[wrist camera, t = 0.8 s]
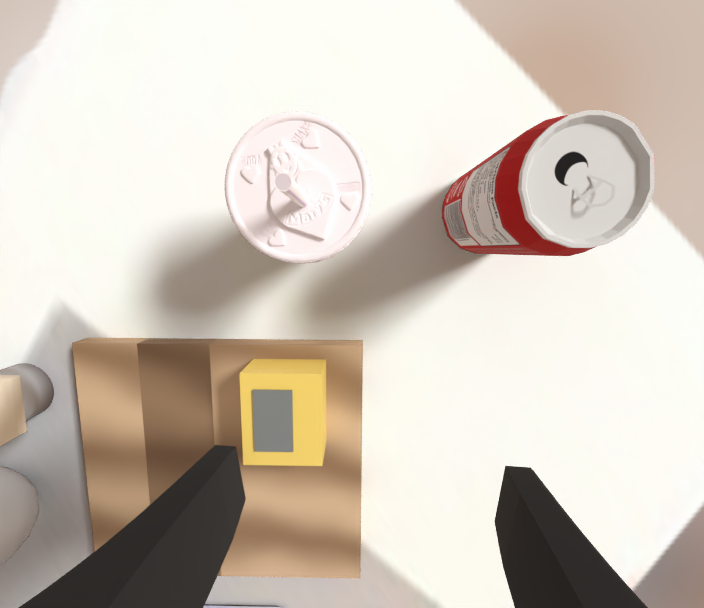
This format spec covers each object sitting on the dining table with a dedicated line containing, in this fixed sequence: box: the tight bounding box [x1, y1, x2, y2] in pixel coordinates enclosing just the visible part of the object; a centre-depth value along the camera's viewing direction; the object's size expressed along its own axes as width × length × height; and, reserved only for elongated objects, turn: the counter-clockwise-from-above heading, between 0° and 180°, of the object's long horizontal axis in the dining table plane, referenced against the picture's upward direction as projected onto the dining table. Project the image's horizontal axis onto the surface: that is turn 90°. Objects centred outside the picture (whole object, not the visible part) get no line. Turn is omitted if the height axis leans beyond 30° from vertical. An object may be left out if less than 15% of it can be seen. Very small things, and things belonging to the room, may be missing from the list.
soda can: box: [442, 110, 654, 256], centre depth 19 cm, size 6×6×12 cm
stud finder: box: [240, 359, 326, 466], centre depth 24 cm, size 6×5×3 cm
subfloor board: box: [72, 338, 363, 578], centre depth 27 cm, size 18×20×2 cm
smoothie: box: [225, 111, 372, 264], centre depth 18 cm, size 6×6×14 cm
